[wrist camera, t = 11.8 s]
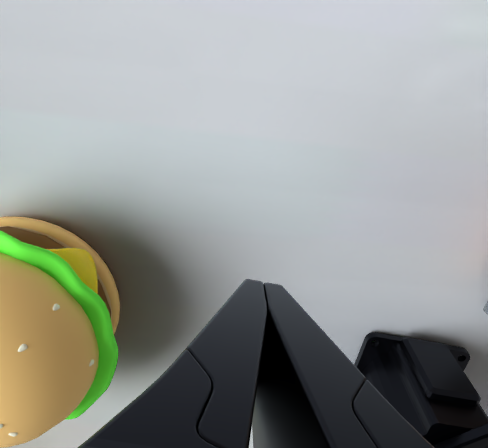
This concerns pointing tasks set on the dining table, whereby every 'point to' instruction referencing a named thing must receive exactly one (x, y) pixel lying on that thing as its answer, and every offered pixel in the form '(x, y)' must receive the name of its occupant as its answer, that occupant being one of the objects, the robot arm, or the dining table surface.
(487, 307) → the grey rectangular block
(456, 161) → the dining table surface
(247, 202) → the dining table surface
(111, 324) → the toy hamburger
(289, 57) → the dining table surface
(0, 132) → the dining table surface
